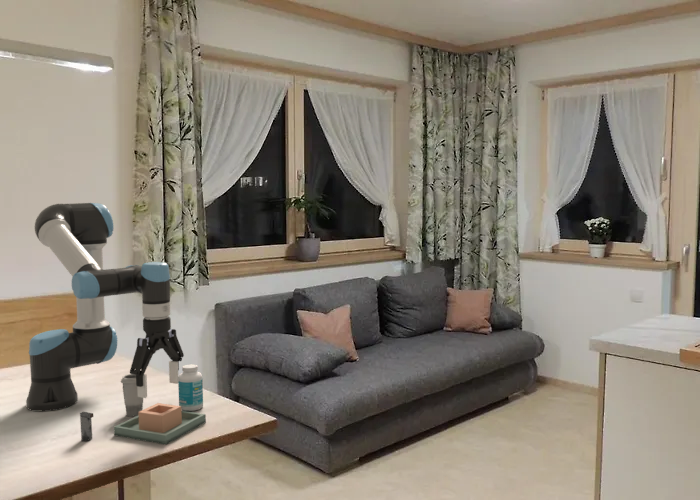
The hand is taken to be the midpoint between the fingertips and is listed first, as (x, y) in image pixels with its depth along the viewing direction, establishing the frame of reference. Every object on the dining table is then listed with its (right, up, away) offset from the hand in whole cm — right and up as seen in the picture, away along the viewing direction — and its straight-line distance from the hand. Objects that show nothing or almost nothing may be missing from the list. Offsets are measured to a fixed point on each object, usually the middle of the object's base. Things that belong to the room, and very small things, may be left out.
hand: (158, 389), depth 183 cm
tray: (+1, -11, +1) cm, 11 cm away
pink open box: (0, -11, +1) cm, 11 cm away
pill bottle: (+5, -10, +18) cm, 21 cm away
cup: (-11, -11, +13) cm, 21 cm away
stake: (-18, -12, -7) cm, 23 cm away
